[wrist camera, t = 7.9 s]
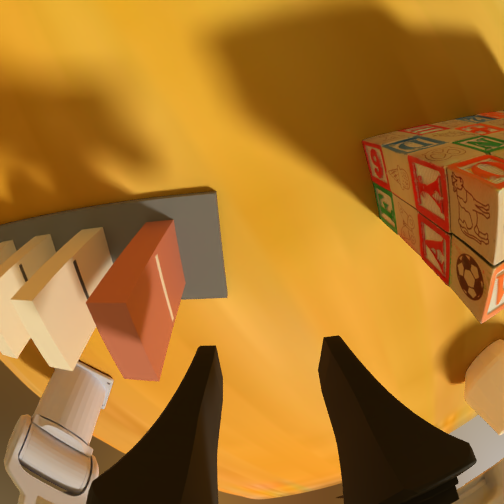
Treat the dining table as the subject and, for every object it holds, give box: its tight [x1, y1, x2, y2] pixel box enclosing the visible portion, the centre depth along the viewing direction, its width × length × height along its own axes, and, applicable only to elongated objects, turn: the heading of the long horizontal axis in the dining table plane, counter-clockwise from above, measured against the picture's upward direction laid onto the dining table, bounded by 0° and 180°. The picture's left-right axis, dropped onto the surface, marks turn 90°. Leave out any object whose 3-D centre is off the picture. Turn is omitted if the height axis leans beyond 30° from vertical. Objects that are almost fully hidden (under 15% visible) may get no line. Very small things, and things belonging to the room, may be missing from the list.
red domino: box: [86, 220, 186, 381], centre depth 15 cm, size 2×5×9 cm, turn 3°
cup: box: [464, 339, 504, 435], centre depth 24 cm, size 13×13×14 cm
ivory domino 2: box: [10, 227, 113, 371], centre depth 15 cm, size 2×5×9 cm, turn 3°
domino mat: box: [0, 191, 227, 299], centre depth 19 cm, size 28×8×1 cm, turn 93°
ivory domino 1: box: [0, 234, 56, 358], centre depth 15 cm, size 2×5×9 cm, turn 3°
